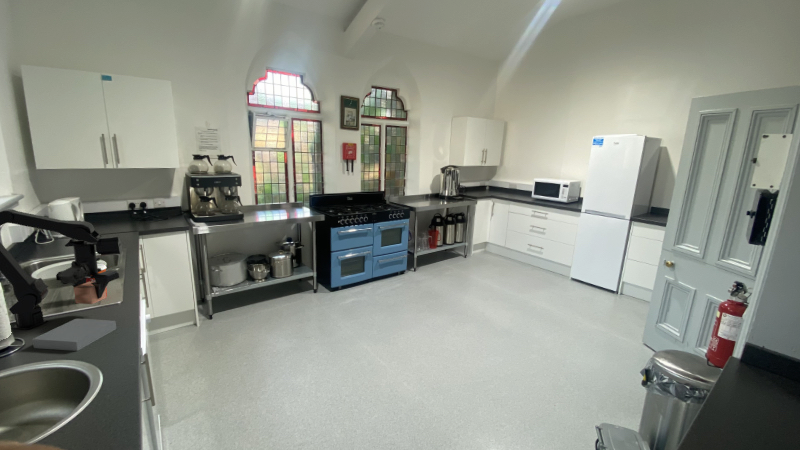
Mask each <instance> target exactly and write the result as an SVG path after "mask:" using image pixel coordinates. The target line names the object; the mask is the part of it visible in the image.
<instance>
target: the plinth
mask: <svg viewBox="0 0 800 450" xmlns="http://www.w3.org/2000/svg"><path fill="white" fill-rule="evenodd" d="M116 322H117V321H116V320H109V319H108V320H107V319H106V320H105V319H92V318H91V319H90V318H74V319H72V320H70V321H68V322H66V323H64V324H62V325H59V326H57V327H55V328H53V329H51V330H48V331H46V332H44V333H42V334H41V335H38V336H36V337H34V338H32V345H33V349H41V350H42V349H43V350H44V349H46V350H59V351H60V350H61V351H74V352H75V351H76V352H78V351H79V350H82V349H84V348H85V347H87V346H89V345H91V344H92V343H94V342H96V341H97V340H99V339H101V338H103V337H105V336H106V335H108V334H110V333H112V332H113V331H115V330H117V323H116Z"/></svg>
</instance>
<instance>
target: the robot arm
mask: <svg viewBox="0 0 800 450" xmlns="http://www.w3.org/2000/svg"><path fill="white" fill-rule="evenodd" d="M5 224H13V225H18V226H23V227H27V228H28V227H29V228H35V229H37V230H38V229H39V230H44V231H49V232H53V233H54V232H55V233H57V234H59V235H62V236H64V237H67V238H69V240H68V242H67V243H65V244H64V247H66V248H67V247H72V249H73V254H74V255H73V256H74V260H73V261H71V263H70V265H71V266H70V267H68V268H66V269H64V270H61V271H57V273H56V274H55V277H56V281H60V282H62V284H69V285H71V286H72V287H73V288H74V287H76V286H79V285H82V284H84V283H86V278H95V281H96V282H93V283H91V284H92V285H94V286H95V289H96V295H97V298H98V299H99V298H101V297H102V295H103V293H104V290H105V288H106V286H108V285H109V283H110V282H112V281H115V280H117V279H120V275H119V274H120V273H119V271H117V270H106V271H105V272H102V273H98V272H100V271H101V268H98V266H97V264H98V262H99V261H101V258H100V257H97V254H98V255H101V257H103V256H113V255H114V256H116V255H122V253H123V244H122V241H121V239H120V236H119V235H114V236H103V235H102V234H100V232H98V231H97V230H95V227H94V225H93V224H92V223H91V222H89V221H84V220H83V221H82V220H64V219H63V220H62V219H57V218H52V217H48V216H42V215H37V214H33V213H29V212H24V211H23V212H22V211H20V210H19V211H18V210H16V209H12V208H8V209H4V210H2V211H0V226H3V225H5ZM0 273H1V274H2V275H3V276H4V278H5V279H7V281H8V283H10V285H11V286H12V291H13V294H14V296H15V297H14V298H15V299H16V300H17V302H16V303H14V304H13V305H11V307H10V308H9V309H8V310H9V311H10V313H11V314H12V315H14V319H15V320H14V321H15V324H14V325H12V326H11V327H12V328H11V329H14V330H15V329H16V330H31V329H34V328H35V327H38V326H40V325H43V324H45V323H48V322H49V319H47V318H44V313H43V310H42V307H41V306H40V304H41V303H42V302H43V300H45V298H46V297H47V296H48V293H49V289H48V288H49V285H48V284H46V283H45V282H44V280H43V279H42V277H39V278H37V279H36V278H33V277H31V276H30V275H28V273H27V272H26V271H25V270H24V268H23V267H22V266H21V265H20V263H18V261H17V260H16V259H15V258H14V257H13V256H12V254H11V253H10V252H9V251H8V249H7V248H6V247H5V245H3V244H2V242H0ZM91 275H92V276H91Z"/></svg>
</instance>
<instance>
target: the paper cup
mask: <svg viewBox="0 0 800 450" xmlns="http://www.w3.org/2000/svg"><path fill="white" fill-rule="evenodd" d="M97 266H98V268H101V271H100V272H98V273H102V272H105V271H107V266H106V265H105V264H104V263H97ZM91 276H92V275H91ZM87 282H96V281H95V278H86V283H87ZM107 286H108V285H107ZM107 286H106V288H105V289H106V297H108V290H107Z"/></svg>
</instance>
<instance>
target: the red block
mask: <svg viewBox="0 0 800 450" xmlns="http://www.w3.org/2000/svg"><path fill="white" fill-rule="evenodd" d="M91 283H93V282H87V283H84V284H82V285H79V286H76V287H73V293H74V300H75V303H76V304H81V305H82V304H83V305H94V304H95V303H98V302H100V301H103V300H104V299H107V297H108V296H107V297H106V289H105V290H104V293H103V295H102V297H101V298H99V299H98V298H97V295H96V289H95V286H94V285H92V284H91Z"/></svg>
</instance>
